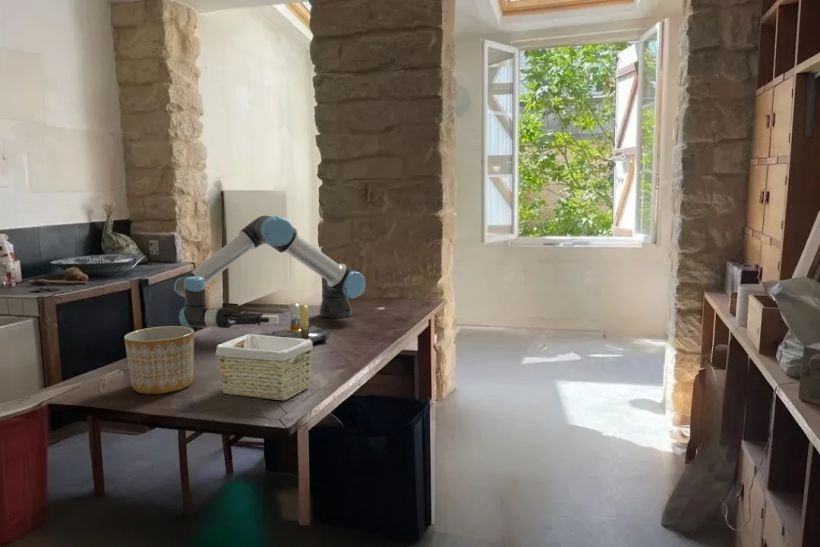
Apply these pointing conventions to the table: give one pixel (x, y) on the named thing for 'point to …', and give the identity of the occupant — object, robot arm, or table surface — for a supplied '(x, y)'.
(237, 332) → the table surface
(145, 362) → the planter
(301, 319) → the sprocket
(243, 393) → the storage basket
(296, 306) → the roller
